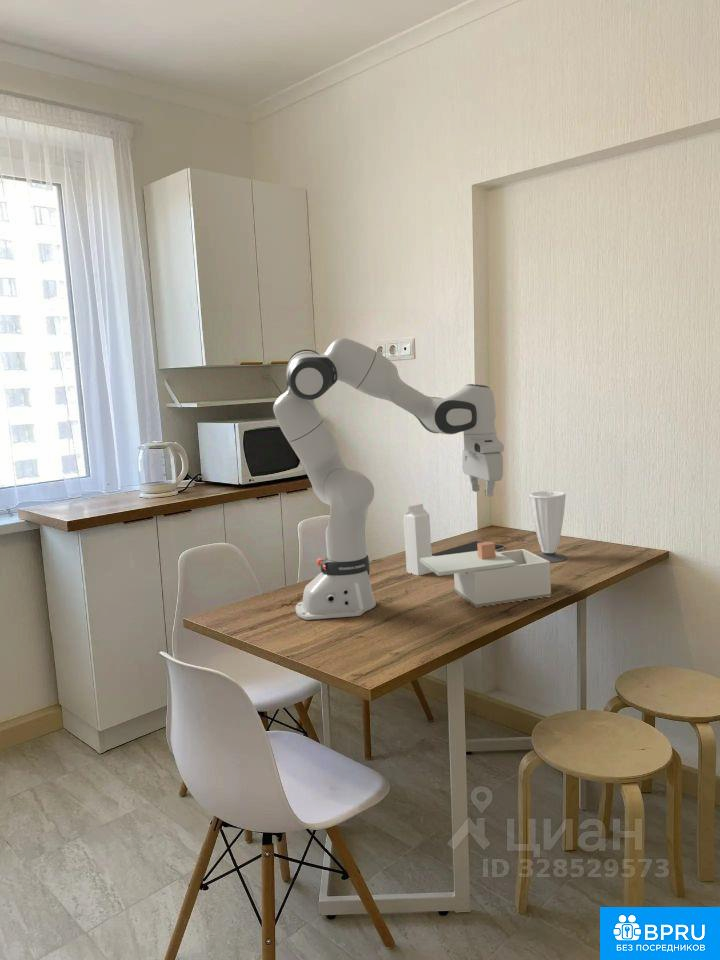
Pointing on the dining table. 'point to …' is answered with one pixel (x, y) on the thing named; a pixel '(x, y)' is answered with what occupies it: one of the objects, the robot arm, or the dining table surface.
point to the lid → (468, 560)
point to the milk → (417, 539)
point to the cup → (548, 522)
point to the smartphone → (465, 549)
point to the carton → (506, 580)
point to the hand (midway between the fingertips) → (482, 493)
